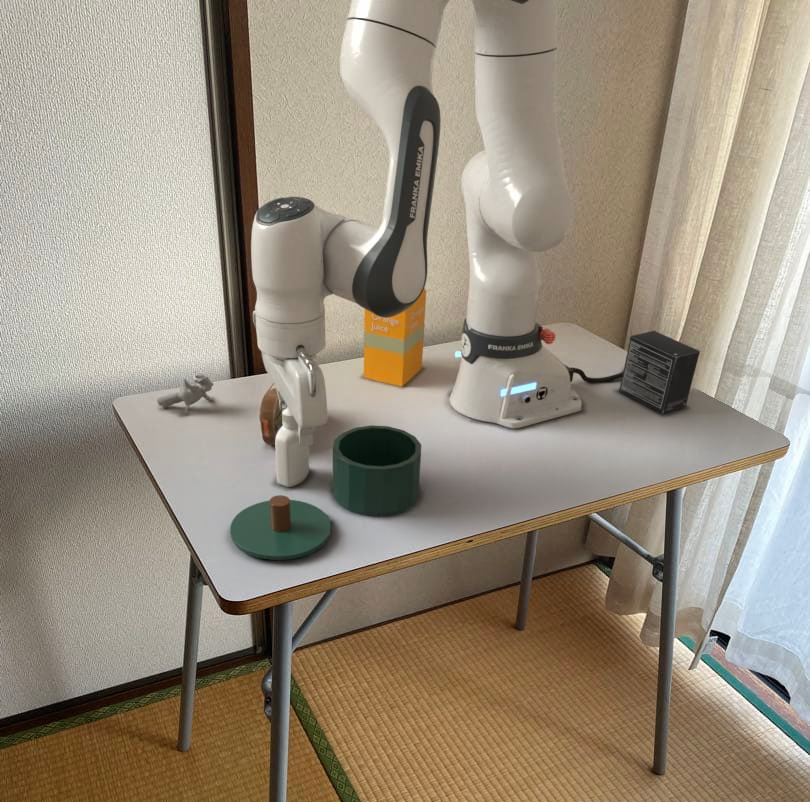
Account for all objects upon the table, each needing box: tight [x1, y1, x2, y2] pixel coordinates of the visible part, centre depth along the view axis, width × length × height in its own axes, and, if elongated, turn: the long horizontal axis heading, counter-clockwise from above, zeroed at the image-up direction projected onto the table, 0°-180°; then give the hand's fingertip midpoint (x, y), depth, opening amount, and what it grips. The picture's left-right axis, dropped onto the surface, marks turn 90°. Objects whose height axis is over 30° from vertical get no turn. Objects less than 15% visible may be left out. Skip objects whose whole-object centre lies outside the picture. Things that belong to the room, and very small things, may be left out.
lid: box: [229, 494, 332, 561], centre depth 112 cm, size 13×13×5 cm
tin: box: [259, 382, 283, 446], centre depth 134 cm, size 15×3×8 cm, turn 168°
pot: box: [332, 424, 422, 517], centre depth 121 cm, size 12×12×8 cm
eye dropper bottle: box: [274, 407, 310, 488], centre depth 121 cm, size 4×6×12 cm
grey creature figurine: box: [156, 371, 214, 415], centre depth 139 cm, size 10×6×9 cm
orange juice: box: [363, 287, 427, 387], centre depth 150 cm, size 8×9×20 cm
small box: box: [618, 330, 701, 415], centre depth 148 cm, size 11×6×10 cm, turn 34°
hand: (295, 427), depth 120 cm, fingers open, 8 cm apart
